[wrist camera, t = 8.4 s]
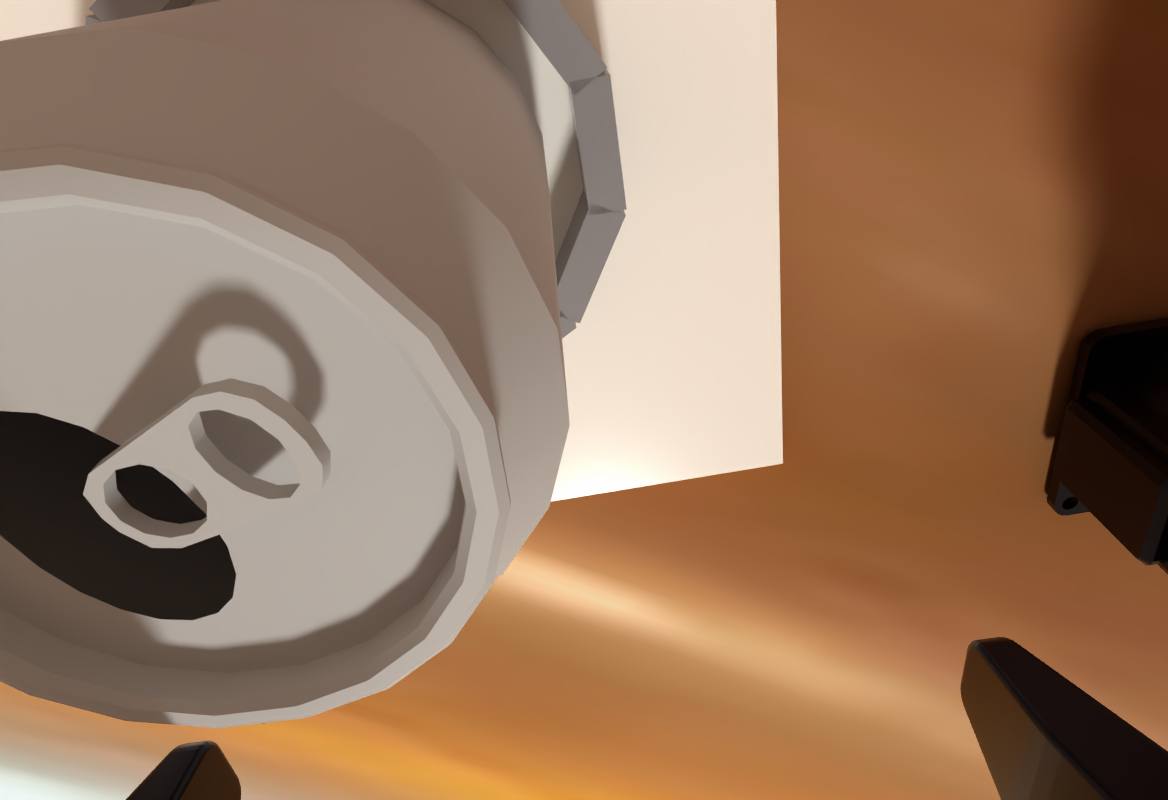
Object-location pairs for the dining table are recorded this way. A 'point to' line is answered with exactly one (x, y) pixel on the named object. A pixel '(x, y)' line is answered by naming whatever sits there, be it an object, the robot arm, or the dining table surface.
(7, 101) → the can
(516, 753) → the dining table surface
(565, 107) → the platter
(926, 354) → the dining table surface
